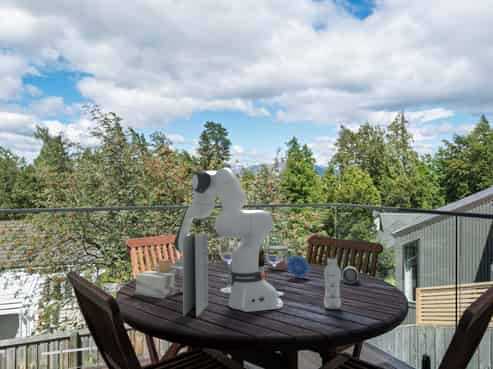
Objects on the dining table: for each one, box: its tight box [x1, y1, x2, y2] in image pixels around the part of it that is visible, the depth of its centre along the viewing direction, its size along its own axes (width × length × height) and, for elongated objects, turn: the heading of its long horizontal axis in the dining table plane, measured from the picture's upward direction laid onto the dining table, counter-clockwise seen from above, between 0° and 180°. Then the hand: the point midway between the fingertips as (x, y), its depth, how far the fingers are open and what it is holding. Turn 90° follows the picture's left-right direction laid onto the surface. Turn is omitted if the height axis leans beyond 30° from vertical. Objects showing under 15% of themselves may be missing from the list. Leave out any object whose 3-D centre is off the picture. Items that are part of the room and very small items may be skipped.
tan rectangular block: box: [158, 258, 171, 273], centre depth 191 cm, size 4×4×13 cm
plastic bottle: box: [323, 257, 342, 310], centre depth 161 cm, size 6×7×20 cm
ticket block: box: [134, 270, 183, 300], centre depth 191 cm, size 22×17×9 cm
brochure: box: [182, 232, 209, 318], centre depth 160 cm, size 14×6×30 cm, turn 168°
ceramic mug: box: [340, 266, 359, 284], centre depth 204 cm, size 11×8×8 cm
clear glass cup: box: [267, 245, 289, 270], centre depth 239 cm, size 11×11×12 cm
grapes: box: [287, 254, 310, 279], centre depth 211 cm, size 12×7×12 cm, turn 85°
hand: (163, 272), depth 190 cm, fingers closed on tan rectangular block, 4 cm apart
